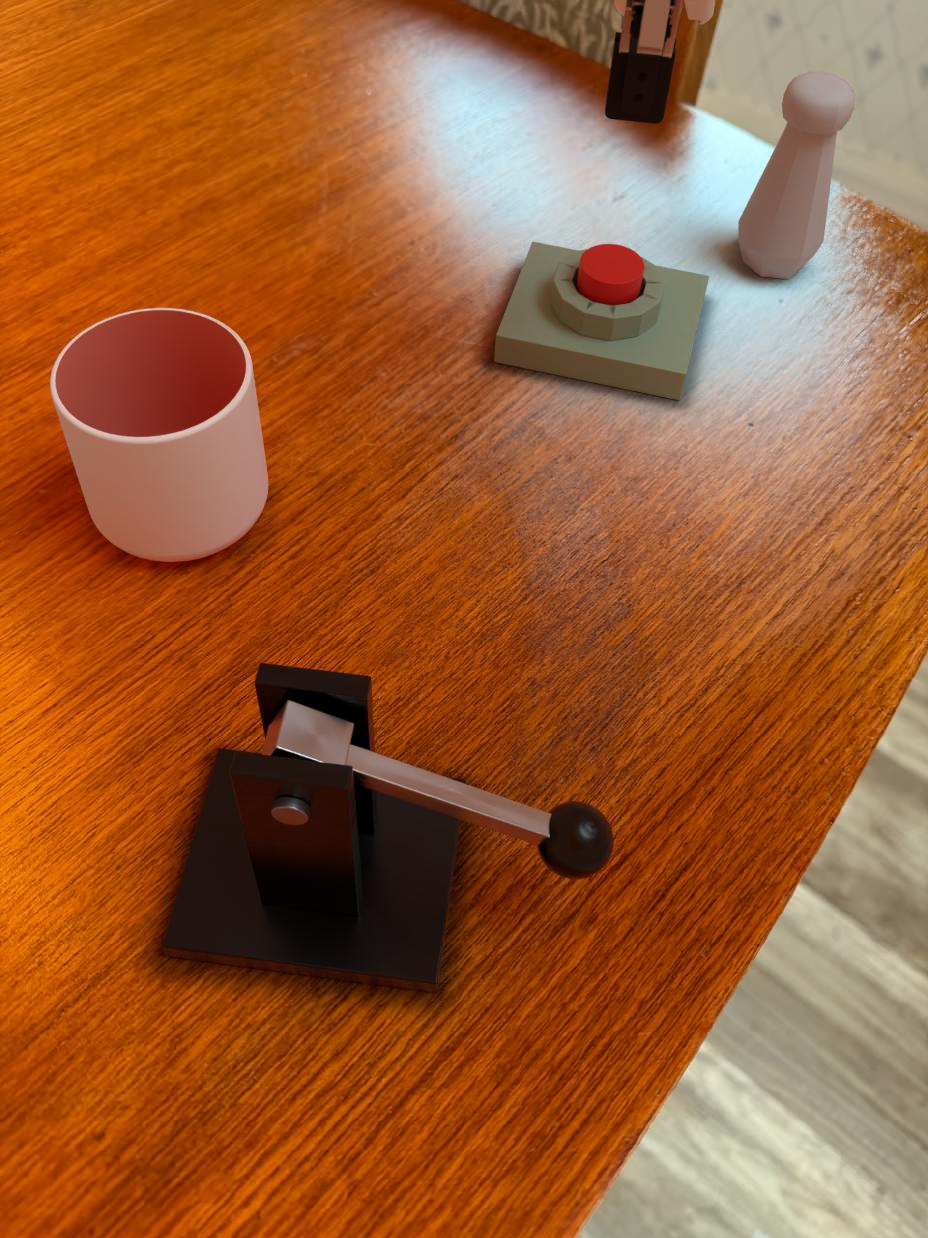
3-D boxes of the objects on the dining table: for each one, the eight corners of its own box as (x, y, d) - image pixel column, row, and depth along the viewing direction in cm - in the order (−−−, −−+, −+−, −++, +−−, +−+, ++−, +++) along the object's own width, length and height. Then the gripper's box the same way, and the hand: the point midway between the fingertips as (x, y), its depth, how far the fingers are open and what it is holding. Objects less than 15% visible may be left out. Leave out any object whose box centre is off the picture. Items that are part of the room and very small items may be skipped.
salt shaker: (722, 275, 82) (767, 96, 72) (738, 227, 86) (783, 50, 75) (807, 294, 82) (864, 116, 71) (820, 246, 85) (877, 68, 74)
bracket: (465, 790, 58) (476, 635, 48) (437, 993, 52) (443, 866, 42) (221, 759, 58) (180, 599, 48) (165, 957, 53) (105, 822, 42)
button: (645, 273, 77) (649, 250, 75) (634, 312, 74) (638, 288, 73) (583, 261, 77) (587, 238, 76) (571, 299, 75) (574, 276, 73)
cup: (93, 584, 65) (48, 452, 57) (91, 452, 70) (49, 316, 62) (279, 560, 66) (261, 428, 58) (261, 433, 72) (242, 297, 64)
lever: (591, 831, 52) (630, 803, 50) (586, 899, 50) (626, 873, 48) (268, 719, 48) (293, 682, 46) (249, 789, 46) (275, 754, 44)
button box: (702, 302, 81) (715, 252, 77) (679, 400, 75) (691, 351, 72) (529, 268, 82) (534, 217, 79) (493, 362, 76) (497, 311, 73)
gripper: (795, -209, 47) (701, 201, 62) (782, -336, 56) (702, 49, 70) (603, -228, 47) (555, 185, 62) (620, -351, 56) (574, 36, 71)
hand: (633, 112), depth 66 cm, fingers closed
